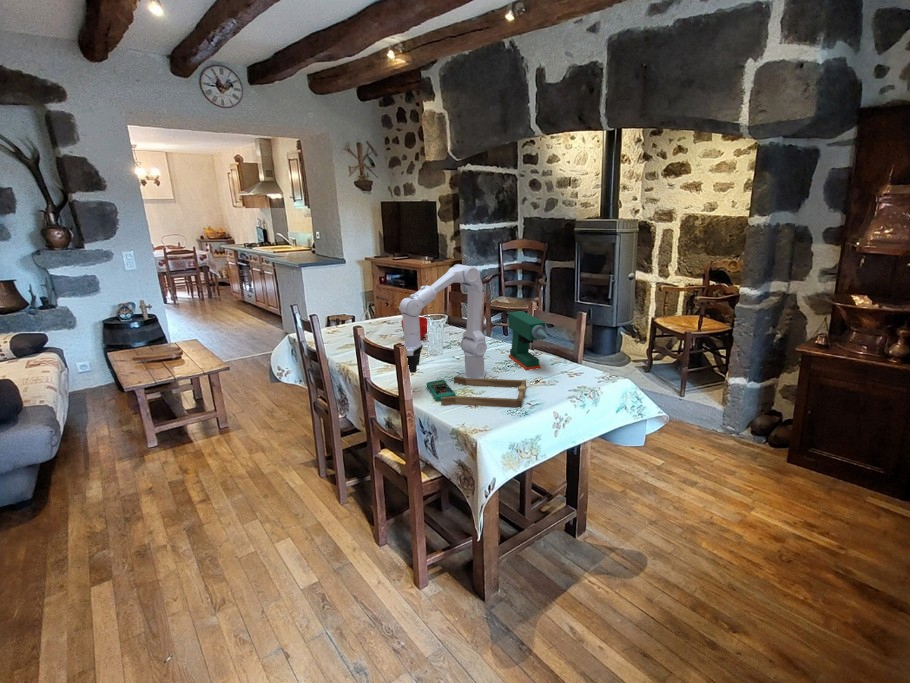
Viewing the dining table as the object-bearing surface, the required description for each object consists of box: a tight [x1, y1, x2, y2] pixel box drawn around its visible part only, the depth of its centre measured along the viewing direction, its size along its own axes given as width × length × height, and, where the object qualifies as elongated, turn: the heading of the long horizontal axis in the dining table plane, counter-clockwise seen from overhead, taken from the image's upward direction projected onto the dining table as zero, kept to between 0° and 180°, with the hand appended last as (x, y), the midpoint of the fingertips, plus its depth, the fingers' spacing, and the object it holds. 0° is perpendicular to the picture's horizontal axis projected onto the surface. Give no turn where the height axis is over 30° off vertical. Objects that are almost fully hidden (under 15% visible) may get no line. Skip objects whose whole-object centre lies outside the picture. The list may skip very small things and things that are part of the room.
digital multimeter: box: [426, 379, 457, 402], centre depth 179 cm, size 7×15×3 cm, turn 17°
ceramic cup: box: [400, 316, 428, 340], centre depth 246 cm, size 13×17×10 cm
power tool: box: [507, 310, 550, 371], centre depth 198 cm, size 32×7×20 cm, turn 16°
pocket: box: [440, 375, 527, 409], centre depth 175 cm, size 22×28×3 cm
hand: (414, 368), depth 177 cm, fingers open, 7 cm apart
